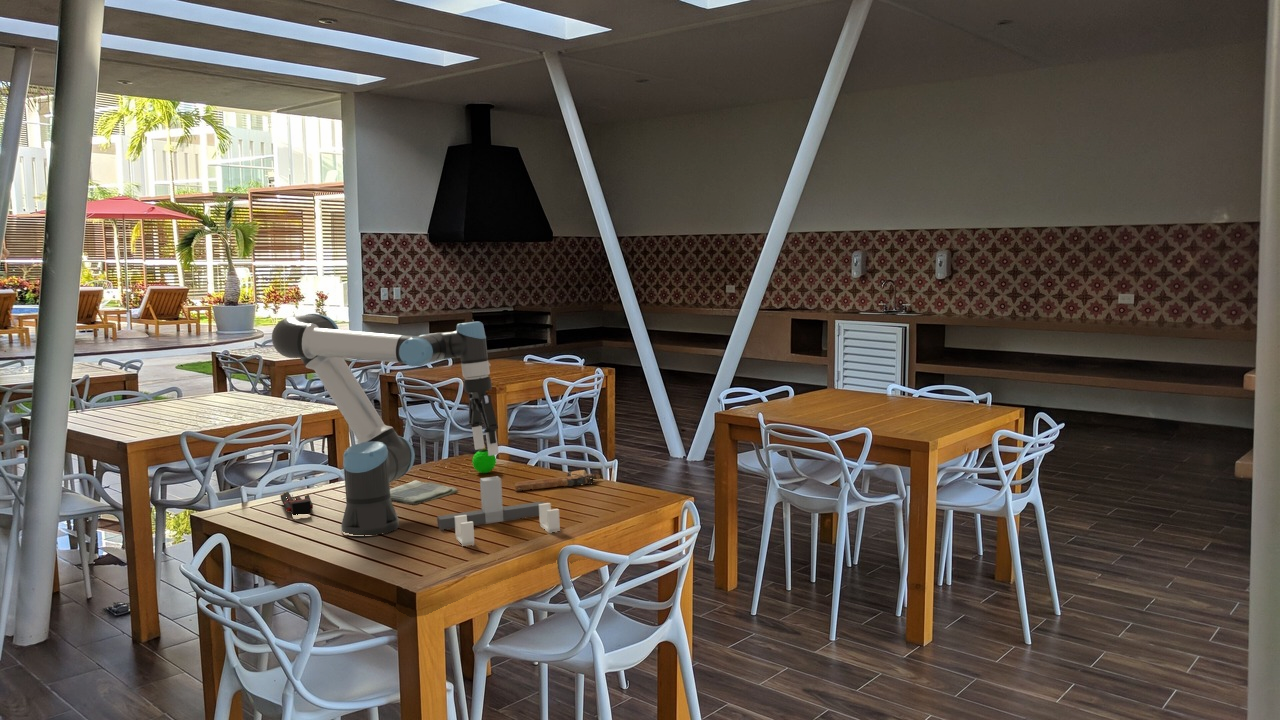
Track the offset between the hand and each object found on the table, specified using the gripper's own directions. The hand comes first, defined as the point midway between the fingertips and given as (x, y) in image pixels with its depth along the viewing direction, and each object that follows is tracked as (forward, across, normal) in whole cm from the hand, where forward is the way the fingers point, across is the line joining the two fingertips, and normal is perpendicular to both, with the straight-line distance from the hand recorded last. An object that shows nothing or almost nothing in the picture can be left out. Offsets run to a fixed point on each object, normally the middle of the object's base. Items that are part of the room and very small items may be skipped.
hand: (486, 451), depth 262 cm
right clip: (+20, -19, -9) cm, 30 cm away
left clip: (+19, -18, +14) cm, 30 cm away
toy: (+15, +46, +48) cm, 68 cm away
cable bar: (+19, -3, +2) cm, 19 cm away
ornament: (+18, +58, -14) cm, 62 cm away
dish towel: (+17, +40, +13) cm, 45 cm away
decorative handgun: (+20, +29, -30) cm, 46 cm away
